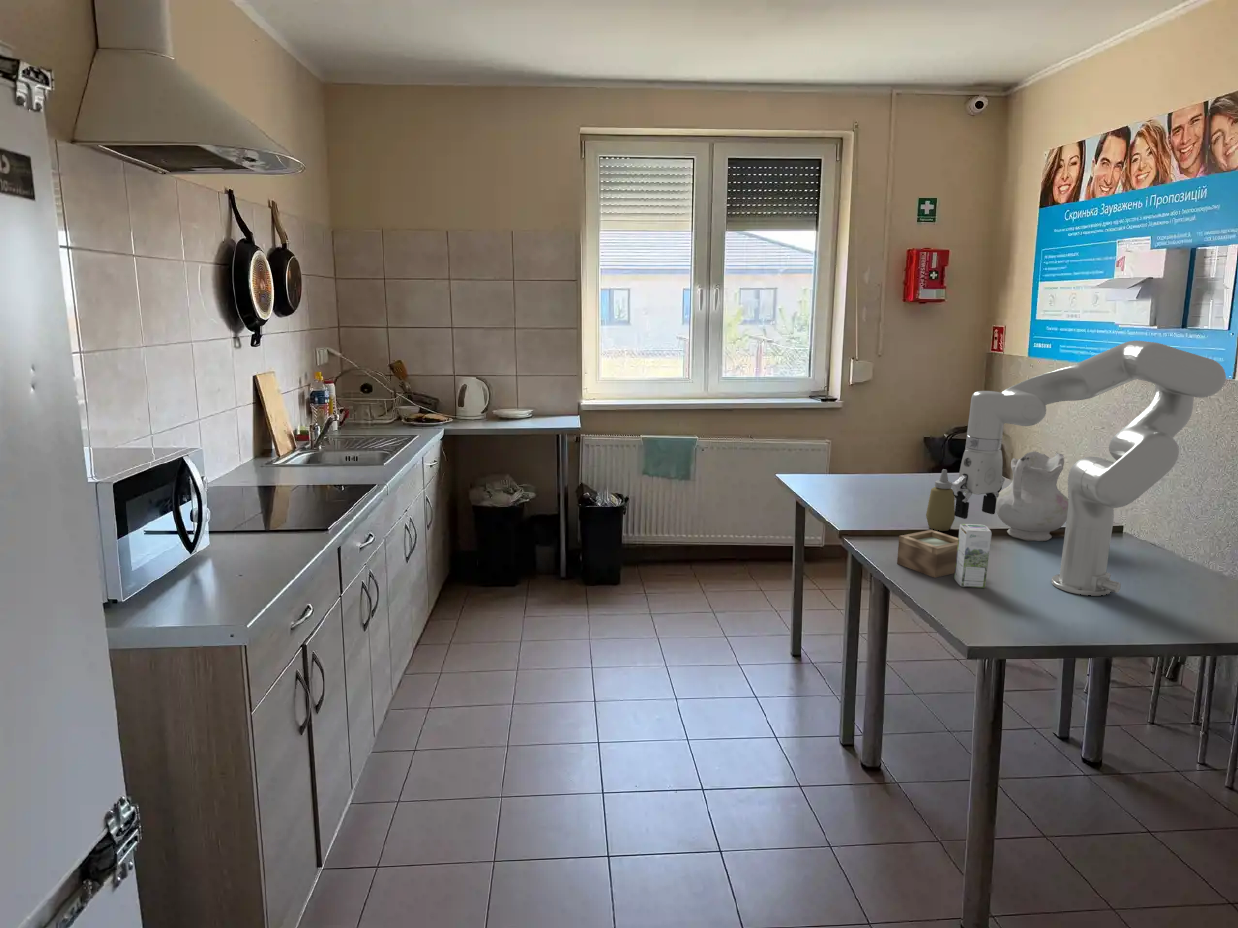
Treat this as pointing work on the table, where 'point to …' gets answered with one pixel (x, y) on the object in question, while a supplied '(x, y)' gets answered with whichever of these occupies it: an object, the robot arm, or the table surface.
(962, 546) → the syrup box
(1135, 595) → the table surface
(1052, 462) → the ceramic pitcher
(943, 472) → the squeeze bottle
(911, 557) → the wooden box
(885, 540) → the table surface
